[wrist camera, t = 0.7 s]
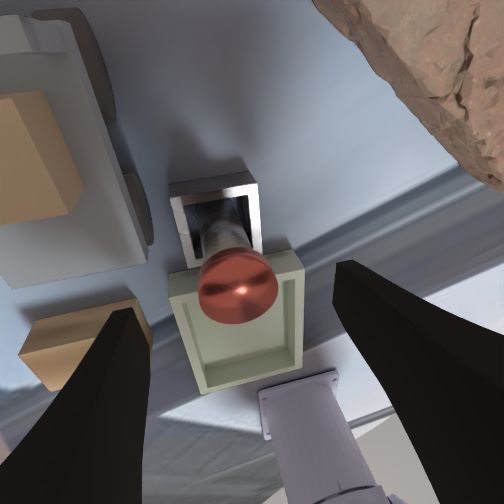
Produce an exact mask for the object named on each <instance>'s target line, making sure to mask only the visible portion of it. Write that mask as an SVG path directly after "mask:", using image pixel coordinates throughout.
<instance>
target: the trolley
mask: <svg viewBox="0 0 504 504" xmlns="http://www.w3.org/2000/svg"><path fill="white" fill-rule="evenodd" d="M115 117H116V110H115V101H114V96H113V91H112V87H111V83H110V79H109V76H108V72H107V69H106V66H105V63H104V60H103V57H102V54H101V51H100V48H99V46H98V43H97V41H96V38H95V36H94V34H93V31H92V29H91V27H90V25H89V23H88V21H87V19H86V18H85V16H84V14H83V13H82V12H81V10H80V9H78V8H66V9H52V10H39V11H34V12H33V14H32V18H29V17H25V16H21V15H17V14H15V15H2V16H0V274H1V276H2V277H3V278H4V280H5V281H6V282H7V284H8V285H9V286H10V288H11V289H12V290H13V289H18V288H23V287H28V286H33V285H38V284H43V283H48V282H54V281H59V280H64V279H69V278H74V277H79V276H84V275H89V274H94V273H100V272H105V271H110V270H115V269H120V268H125V267H130V266H135V265H140V264H145V263H147V260H148V251H149V250H148V247H147V246H150V245H152V244H153V240H154V233H153V224H152V218H151V213H150V208H149V204H148V201H147V197H146V194H145V191H144V188H143V186H142V183H141V181H140V179H139V177H138V175H137V174H136V173H135V172H133V173H127V174H122V172H121V169H120V166H119V163H118V160H117V157H116V155H115V152H114V149H113V146H112V143H111V140H110V137H109V134H108V131H107V129H106V126H105V123H104V122H108V121H114V120H115Z"/></svg>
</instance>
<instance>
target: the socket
mask: <svg viewBox="0 0 504 504" xmlns="http://www.w3.org/2000/svg"><path fill="white" fill-rule="evenodd" d="M242 195H243V204H244V214H245V223H246V232H245V233H246V235H247V237H248V240H249V242H250V244H251V247H252V249H253V250H256V251H258V252H260V253H261V254H263V252H262V239H261V226H260V212H259V199H258V186H257V182H256V180H255V179H254V178H253V176H252V175H251V173H250V172H249V171H247V172H241V173H235V174H229V175H222V176H216V177H210V178H204V179H197V180H191V181H185V182H179V183H173V184H170V202H171V205H172V209H173V213H174V217H175V221H176V224H177V228H178V232H179V236H180V240H181V243H182V247H183V251H184V255H185V259H186V262H187V266H188V269H190V268H195V267H200V266H202V265H203V264H204V258H203V252H202V246H201V241H198V242H193V238H192V234H191V230H190V225H189V221H188V217H187V213H186V208H185V205H190V204H196V203H202V202H208V201H213V200H219V199H225V198H231V197H237V196H242Z"/></svg>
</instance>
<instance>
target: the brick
mask: <svg viewBox="0 0 504 504" xmlns="http://www.w3.org/2000/svg"><path fill="white" fill-rule="evenodd" d="M312 1H313V2H314V4H315V6H316V8H317V10H318V11H319V12H320V13H321V14H322V15H323V16H324V17H325V18H326V19H327V20H328V21H329V22H330V23H331V24H332V25H333V26H334V27H335V28H336V29H337V30H338V31H339V32H340V33H341V34H343V35H344V36H345V37H346V38H348V39H349V40H351V41H353V42H355V43H356V44H357V45H358V48H359V49H360V50H361V51H362V53H363V55H364V56H365V58H366V60H367V61H368V63H369V65H370V66H371V67H372V69H373V70H374V72H375V73H376V74H377V75H378V76H380V77H381V78H382V79H384V80H385V81H387V82H388V83H389V84H390V85H391V86H392V88H393V89H394V91H395V93H396V96H397V97H398V98H399V99H400V100H401V101H402V102H403V103H404V104H405V105H406V106H407V107H408V108H409V110H410V111H411V112H412V113H413V114H414V115H415V116H416V117H417V118H419V119H420V122H421V123H422V125H423V126H424V127H425V128H426V129H427V130H428V131H429V133H430V134H431V135H433V136H434V137H435V139H436V140H437V141H438V142H439V143H440V144H441V145H442V146H443V147H444V149H445V150H446V151H447V152H448V153H449V154H451V155H452V156H453V157H454V158H455V159H456V160H457V161H458V163H459V164H460V165H461V167H462V169H464V170H465V171H466V172H467V173H468V174H469V175H470V176H472V177H473V178H475V179H476V180H478V181H480V182H482V183H484V184H486V185H488V186H491V187H492V188H494V189H496V190H498V191H500V192H502V193H504V0H312Z"/></svg>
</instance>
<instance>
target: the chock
mask: <svg viewBox="0 0 504 504" xmlns="http://www.w3.org/2000/svg"><path fill="white" fill-rule="evenodd" d="M129 307H132V308H133V310H134V312H135V314H136V317H137V319H138V321H139V323H140V326H141V328H142V330H143V332H144V334H145V337H146V339H147V341H148V343H149V346H150V367H151V360H152V344H153V334H152V331H151V329H150V327H149V325H148V322H147V320H146V318H145V316H144V313H143V311H142V309H141V307H140V304H139V302H138V300H137V298H134V299H130V300H125V301H120V302H116V303H111V304H107V305H102V306H98V307H93V308H89V309H84V310H80V311H75V312H71V313H66V314H62V315H57V316H52V317H48V318H43V319H39V320H35V322H34V324H33V326H32V328H31V330H30V332H29V334H28V336H27V338H26V340H25V342H24V344H23V346H22V348H21V350H20V352H19V354H18V356H19V357H20V358H21V360H22V361H23V362H24V363H25V364H26V365H27V366H28V367H29V368H30V369H31V371H32V372H33V373H34V374H35V375H36V376H37V377H38V378H39V379H40V381H41V382H42V383H43V384H44V385H45V386H46V387H47V388H48V389H49V390H50V392H51V391H55V390H59V389H62V388H63V386H64V385H65V384H66V382H67V381H68V379H69V378H70V377H71V375H72V374H73V372H74V371H75V369H76V368H77V366H78V365H79V363H80V362H81V360H82V359H83V357H84V356H85V354H86V352H87V351H88V349H89V348H90V346H91V345H92V343H93V342H94V340H95V338H96V337H97V335H98V334H99V332H100V330H101V329H102V327H103V325H104V324H105V322H106V321H107V319H108V317H109V316H110V314H111V313H112V312H113V311H115V310H120V309H124V308H129Z"/></svg>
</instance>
